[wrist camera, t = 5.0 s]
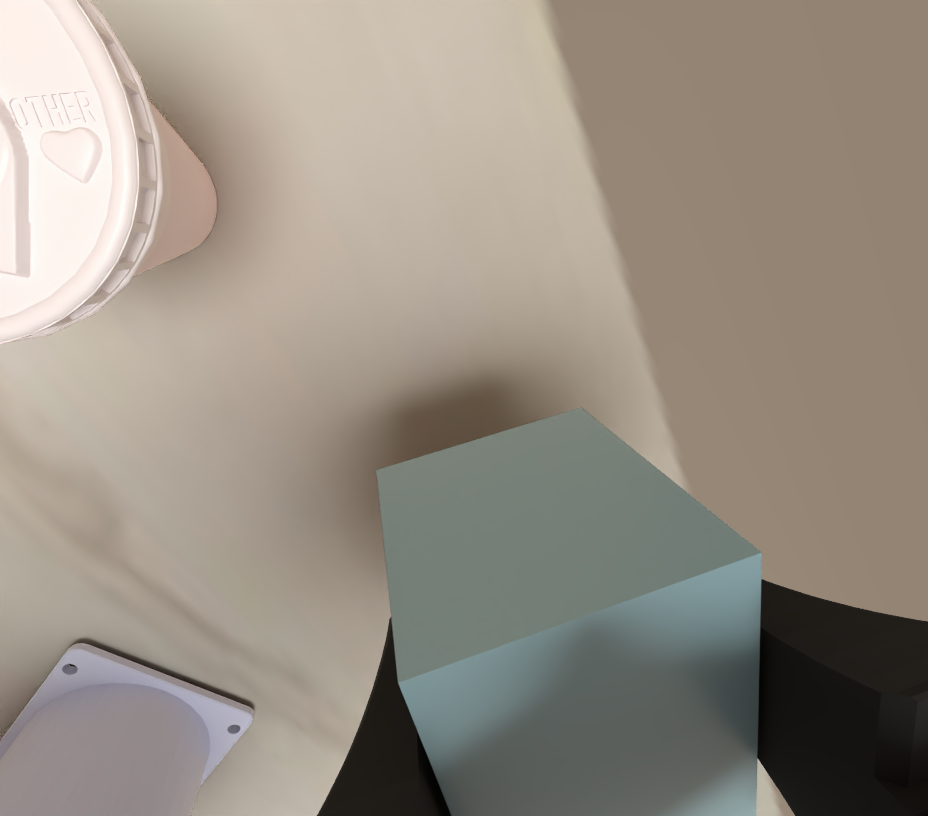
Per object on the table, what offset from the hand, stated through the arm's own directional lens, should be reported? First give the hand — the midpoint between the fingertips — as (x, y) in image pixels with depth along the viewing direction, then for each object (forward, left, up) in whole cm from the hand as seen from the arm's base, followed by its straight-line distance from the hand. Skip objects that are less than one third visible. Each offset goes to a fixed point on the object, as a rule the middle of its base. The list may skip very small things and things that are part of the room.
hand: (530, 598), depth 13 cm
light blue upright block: (0, 0, -2) cm, 2 cm away
